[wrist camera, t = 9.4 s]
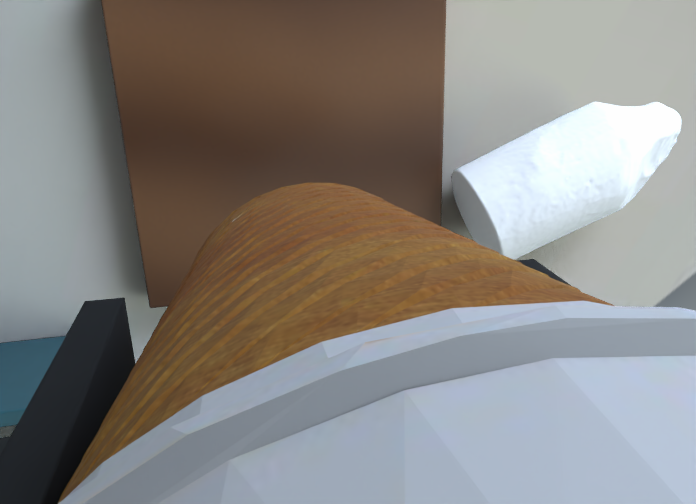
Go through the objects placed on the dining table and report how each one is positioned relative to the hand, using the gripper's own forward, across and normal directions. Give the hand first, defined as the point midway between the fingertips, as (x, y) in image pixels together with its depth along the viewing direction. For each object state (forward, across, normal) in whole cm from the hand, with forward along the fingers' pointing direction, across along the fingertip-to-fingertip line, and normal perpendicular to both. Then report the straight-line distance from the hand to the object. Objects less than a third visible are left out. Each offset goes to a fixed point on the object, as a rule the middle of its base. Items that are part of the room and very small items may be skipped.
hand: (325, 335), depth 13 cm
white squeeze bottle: (+20, +16, -1) cm, 26 cm away
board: (+20, +1, +1) cm, 20 cm away
